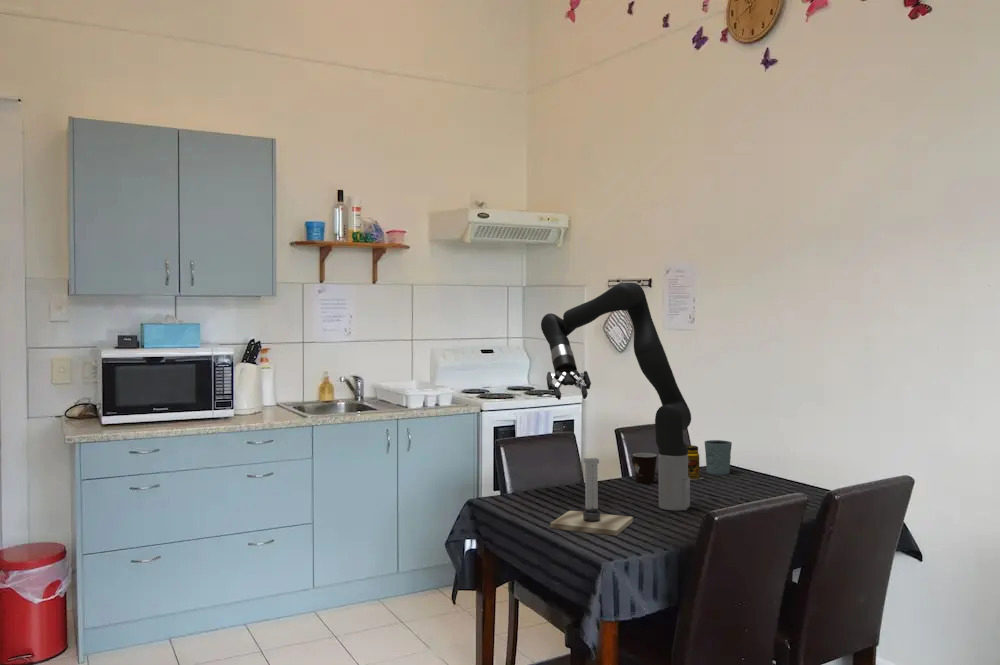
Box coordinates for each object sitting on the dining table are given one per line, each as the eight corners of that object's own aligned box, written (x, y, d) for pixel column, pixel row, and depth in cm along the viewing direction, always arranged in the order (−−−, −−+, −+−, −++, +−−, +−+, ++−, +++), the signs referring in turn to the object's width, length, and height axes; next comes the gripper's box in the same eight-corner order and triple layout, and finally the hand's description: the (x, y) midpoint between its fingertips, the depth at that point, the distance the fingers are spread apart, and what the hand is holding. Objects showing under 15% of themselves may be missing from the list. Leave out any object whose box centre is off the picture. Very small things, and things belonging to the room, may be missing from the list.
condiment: (688, 480, 294) (688, 448, 294) (675, 476, 302) (675, 444, 302) (705, 478, 297) (704, 446, 297) (691, 474, 305) (691, 443, 305)
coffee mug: (659, 484, 288) (658, 457, 288) (635, 484, 288) (634, 457, 288) (653, 477, 300) (653, 451, 300) (630, 478, 300) (630, 451, 300)
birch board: (632, 521, 238) (632, 516, 237) (616, 535, 223) (616, 530, 223) (569, 515, 246) (569, 510, 246) (550, 528, 232) (550, 523, 232)
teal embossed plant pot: (705, 475, 304) (705, 443, 304) (703, 469, 314) (703, 439, 314) (733, 475, 302) (733, 444, 302) (730, 470, 312) (730, 439, 312)
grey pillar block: (597, 517, 238) (597, 457, 237) (602, 521, 233) (601, 460, 232) (581, 518, 237) (580, 457, 236) (585, 522, 232) (585, 460, 231)
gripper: (544, 353, 268) (552, 391, 257) (585, 353, 270) (595, 389, 259) (541, 368, 273) (549, 405, 262) (581, 367, 275) (591, 404, 264)
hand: (572, 397), depth 261 cm, fingers open, 8 cm apart
